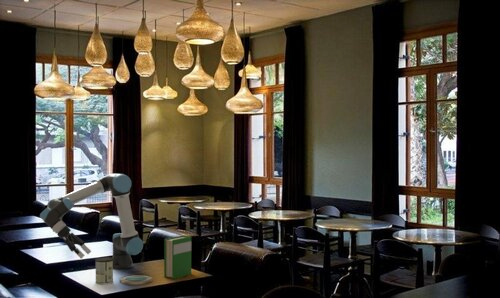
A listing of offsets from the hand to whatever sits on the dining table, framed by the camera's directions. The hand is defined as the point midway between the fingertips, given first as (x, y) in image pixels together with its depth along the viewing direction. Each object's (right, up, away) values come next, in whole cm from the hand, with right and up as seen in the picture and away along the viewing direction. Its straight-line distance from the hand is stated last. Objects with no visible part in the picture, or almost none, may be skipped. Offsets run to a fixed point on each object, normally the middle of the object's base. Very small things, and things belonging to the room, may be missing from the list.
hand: (86, 255), depth 334 cm
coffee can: (+11, -16, 0) cm, 20 cm away
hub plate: (+29, -16, +3) cm, 34 cm away
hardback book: (+52, -17, +18) cm, 58 cm away
